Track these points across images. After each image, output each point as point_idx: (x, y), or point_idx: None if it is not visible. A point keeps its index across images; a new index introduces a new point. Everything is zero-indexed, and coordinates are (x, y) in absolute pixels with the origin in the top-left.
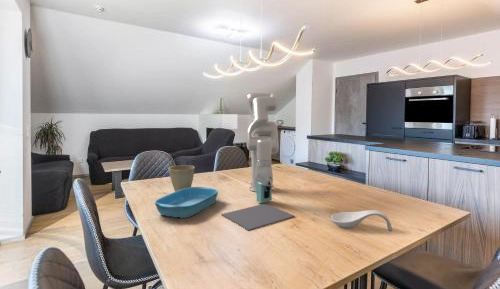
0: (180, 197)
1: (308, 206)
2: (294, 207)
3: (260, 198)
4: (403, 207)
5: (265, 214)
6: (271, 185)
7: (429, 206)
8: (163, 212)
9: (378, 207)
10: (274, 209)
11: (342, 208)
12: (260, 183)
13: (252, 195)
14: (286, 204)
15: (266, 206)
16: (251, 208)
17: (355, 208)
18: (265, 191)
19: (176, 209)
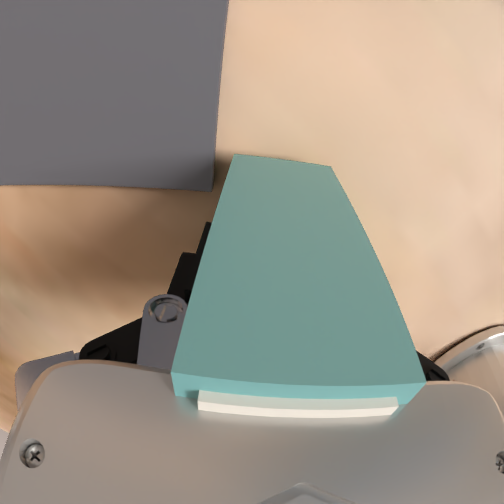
0: None
1: (43, 343)
2: (44, 295)
3: (246, 175)
4: (6, 418)
5: None
6: (18, 394)
7: (9, 429)
8: None
9: (8, 408)
10: (23, 147)
11: (6, 376)
12: (244, 405)
13: (471, 279)
14: (113, 306)
15: (121, 136)
16: None
17: (4, 388)
18: (186, 295)
19: None
